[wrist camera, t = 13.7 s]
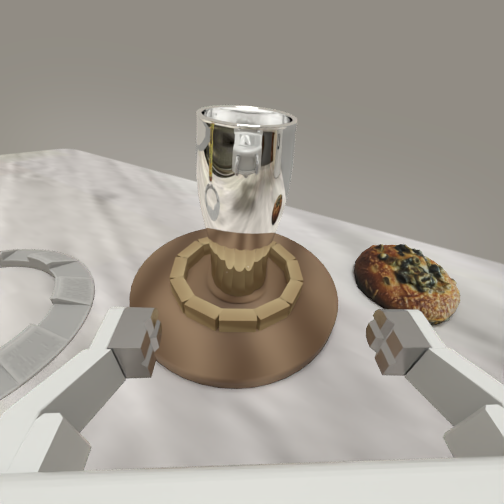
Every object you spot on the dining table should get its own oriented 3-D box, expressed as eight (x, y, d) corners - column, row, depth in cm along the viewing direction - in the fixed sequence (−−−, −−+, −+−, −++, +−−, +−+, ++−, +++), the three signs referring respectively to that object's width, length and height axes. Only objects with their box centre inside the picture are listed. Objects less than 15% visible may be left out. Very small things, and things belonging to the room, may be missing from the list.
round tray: (309, 238, 36) (314, 219, 34) (366, 386, 20) (381, 366, 18) (160, 233, 34) (157, 213, 32) (94, 390, 18) (81, 368, 16)
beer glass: (194, 266, 27) (181, 103, 18) (255, 253, 30) (270, 104, 21) (214, 317, 22) (211, 127, 13) (285, 296, 25) (323, 125, 16)
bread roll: (331, 265, 31) (349, 230, 29) (391, 256, 36) (411, 226, 34) (404, 343, 24) (439, 307, 21) (467, 319, 29) (502, 287, 26)
